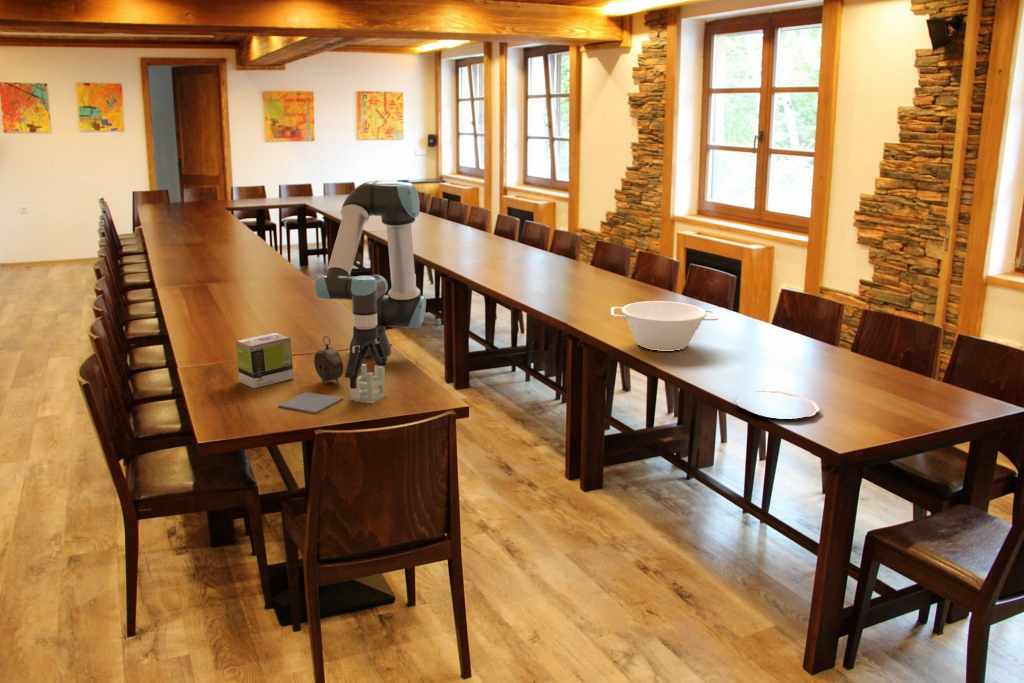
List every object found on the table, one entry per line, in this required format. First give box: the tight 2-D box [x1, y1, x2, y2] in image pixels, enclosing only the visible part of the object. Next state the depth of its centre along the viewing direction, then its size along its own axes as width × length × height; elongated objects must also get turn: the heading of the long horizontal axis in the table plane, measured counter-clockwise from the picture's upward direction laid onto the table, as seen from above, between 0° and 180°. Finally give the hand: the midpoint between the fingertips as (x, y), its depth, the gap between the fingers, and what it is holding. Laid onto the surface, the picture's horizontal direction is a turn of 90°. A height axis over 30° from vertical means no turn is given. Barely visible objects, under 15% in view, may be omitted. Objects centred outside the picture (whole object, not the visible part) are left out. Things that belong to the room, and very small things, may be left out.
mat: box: [277, 391, 344, 415], centre depth 276 cm, size 14×14×1 cm
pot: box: [610, 300, 719, 350], centre depth 342 cm, size 40×32×14 cm
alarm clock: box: [313, 335, 344, 386], centre depth 294 cm, size 11×5×16 cm, turn 47°
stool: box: [348, 363, 386, 404], centre depth 280 cm, size 8×8×10 cm
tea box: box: [235, 331, 294, 389], centre depth 296 cm, size 15×10×15 cm
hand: (367, 391), depth 281 cm, fingers open, 13 cm apart
